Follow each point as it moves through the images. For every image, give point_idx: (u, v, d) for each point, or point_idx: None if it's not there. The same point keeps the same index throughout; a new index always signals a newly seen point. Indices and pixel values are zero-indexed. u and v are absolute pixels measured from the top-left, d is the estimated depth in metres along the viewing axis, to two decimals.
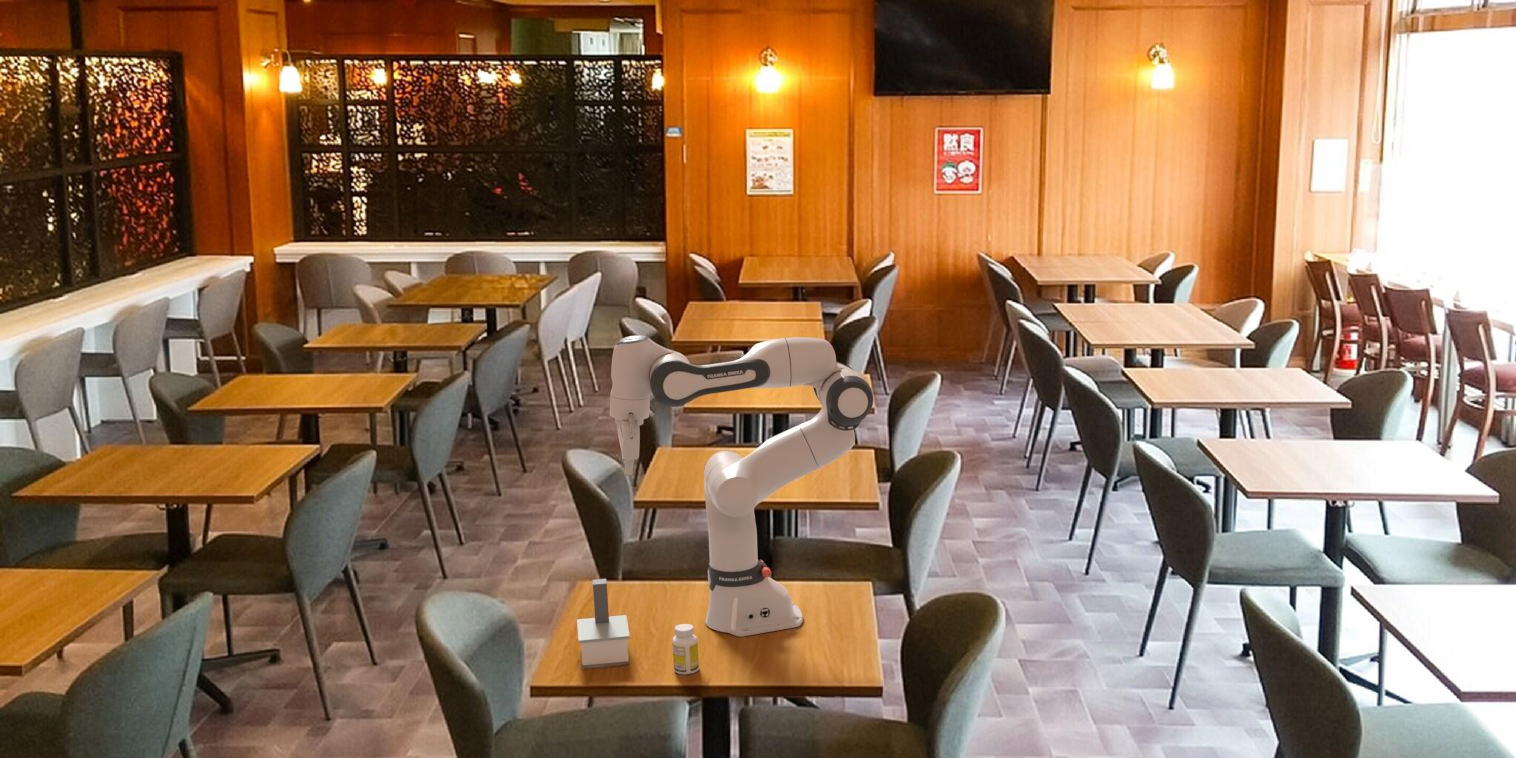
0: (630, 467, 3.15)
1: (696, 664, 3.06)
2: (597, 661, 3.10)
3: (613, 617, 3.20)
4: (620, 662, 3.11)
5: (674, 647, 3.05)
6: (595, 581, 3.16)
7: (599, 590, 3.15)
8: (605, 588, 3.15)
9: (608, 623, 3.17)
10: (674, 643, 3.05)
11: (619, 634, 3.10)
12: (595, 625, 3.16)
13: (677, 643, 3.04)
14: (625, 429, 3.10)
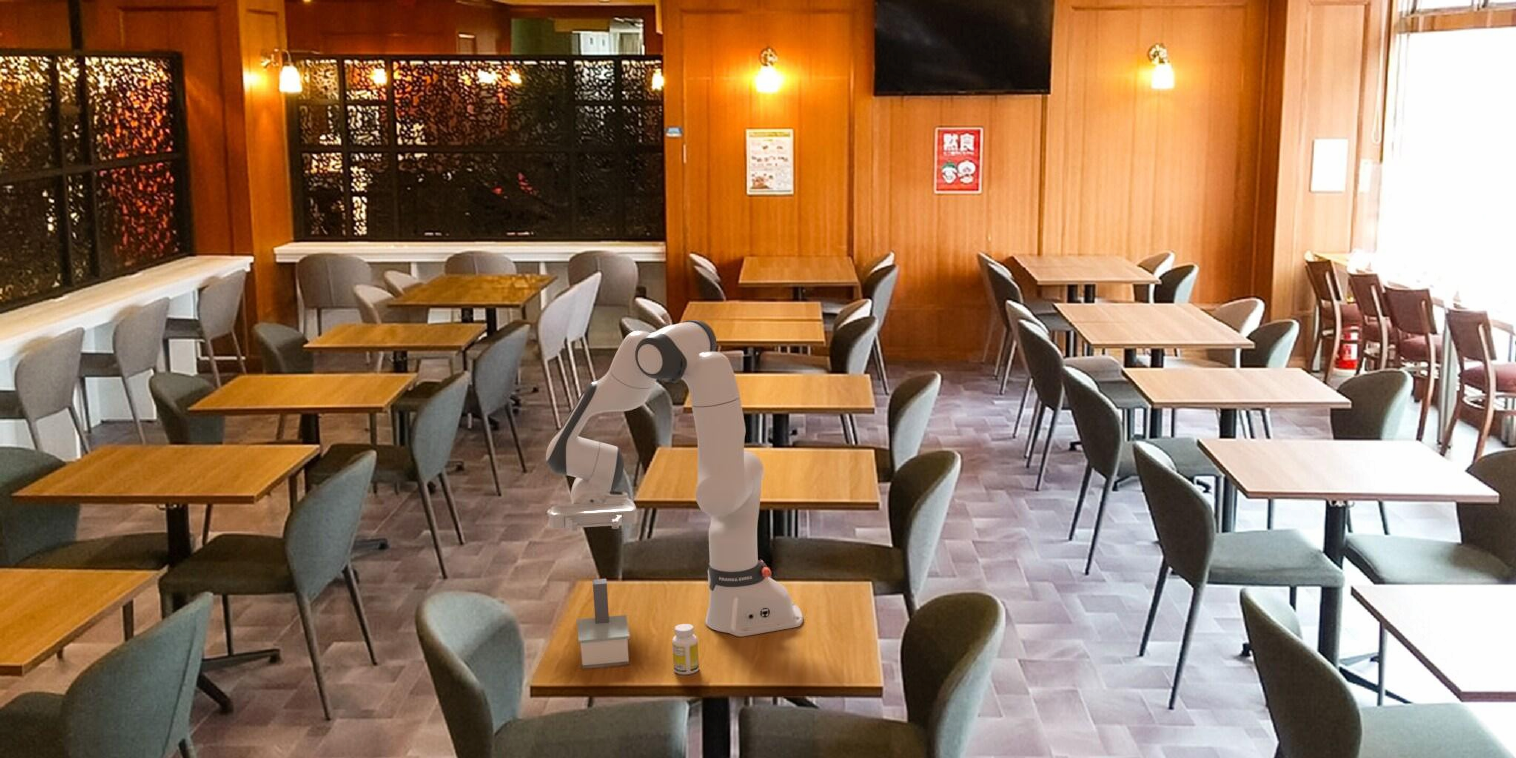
0: (569, 524, 3.26)
1: (696, 664, 3.06)
2: (597, 661, 3.10)
3: (613, 617, 3.20)
4: (620, 662, 3.11)
5: (674, 647, 3.05)
6: (595, 581, 3.16)
7: (599, 590, 3.15)
8: (605, 588, 3.15)
9: (608, 623, 3.17)
10: (674, 643, 3.05)
11: (619, 634, 3.10)
12: (595, 625, 3.16)
13: (677, 643, 3.04)
14: None
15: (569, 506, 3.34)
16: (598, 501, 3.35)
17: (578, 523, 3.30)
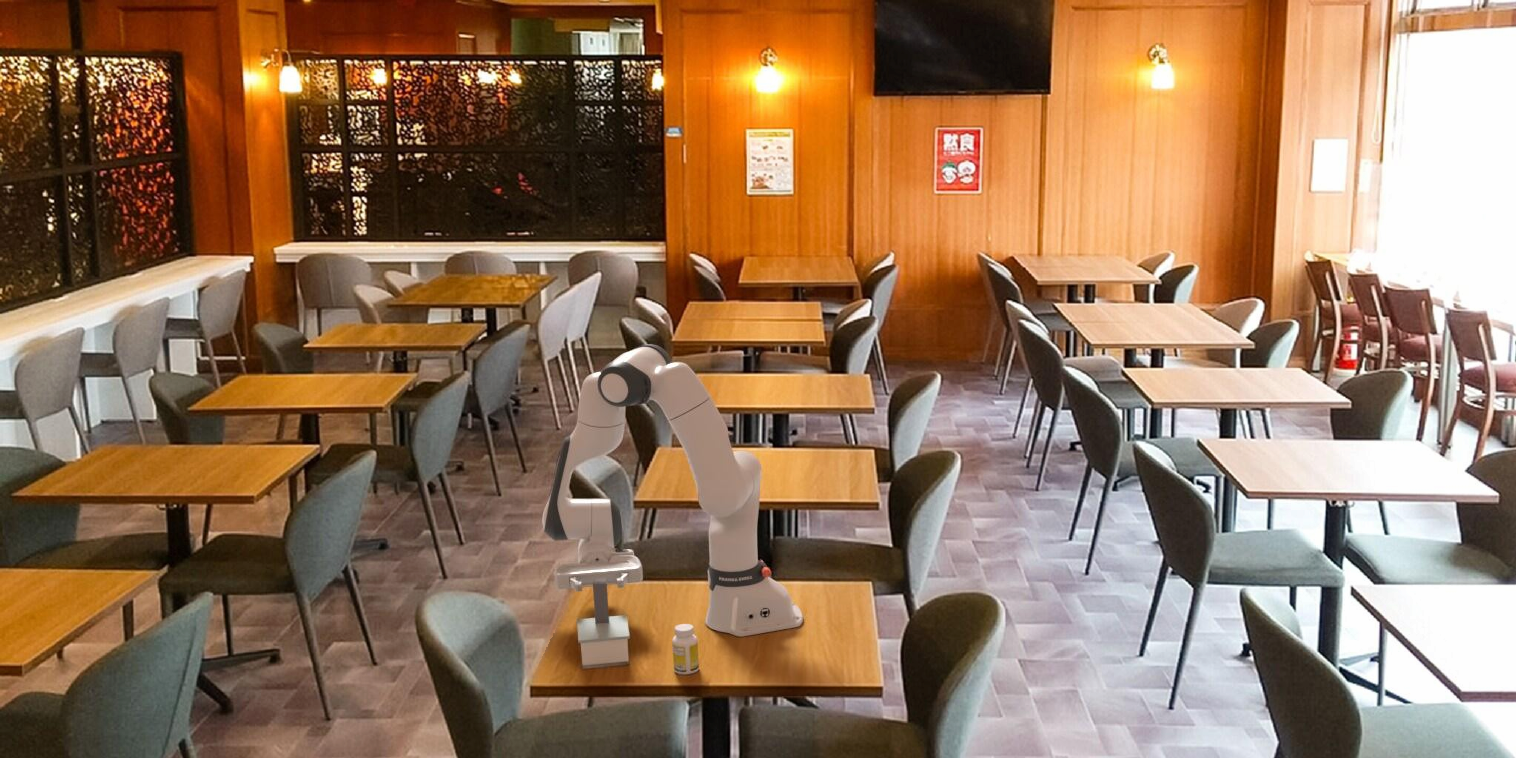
0: (574, 584, 3.24)
1: (696, 664, 3.06)
2: (597, 661, 3.10)
3: (613, 617, 3.20)
4: (620, 662, 3.11)
5: (674, 647, 3.05)
6: (595, 581, 3.16)
7: (599, 590, 3.15)
8: (605, 588, 3.15)
9: (608, 623, 3.17)
10: (674, 643, 3.05)
11: (619, 634, 3.10)
12: (595, 625, 3.16)
13: (677, 643, 3.04)
14: None
15: (574, 565, 3.32)
16: (603, 559, 3.33)
17: (583, 583, 3.28)
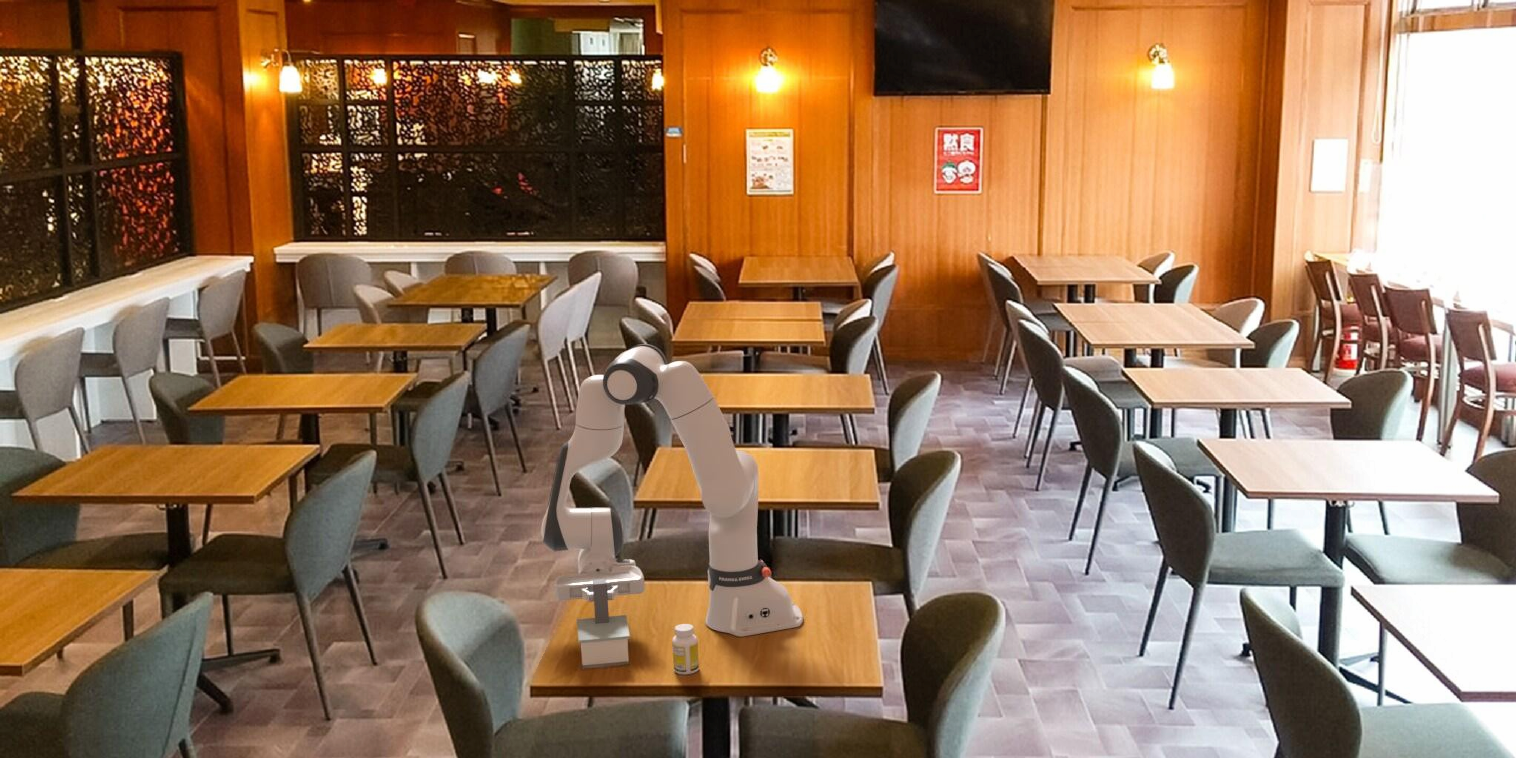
0: (586, 594, 3.17)
1: (696, 664, 3.06)
2: (597, 661, 3.10)
3: (613, 617, 3.20)
4: (620, 662, 3.11)
5: (674, 647, 3.05)
6: (595, 581, 3.16)
7: (599, 590, 3.15)
8: (605, 588, 3.15)
9: (608, 623, 3.17)
10: (674, 643, 3.05)
11: (619, 634, 3.10)
12: (595, 625, 3.16)
13: (677, 643, 3.04)
14: None
15: (575, 576, 3.25)
16: (604, 570, 3.26)
17: None
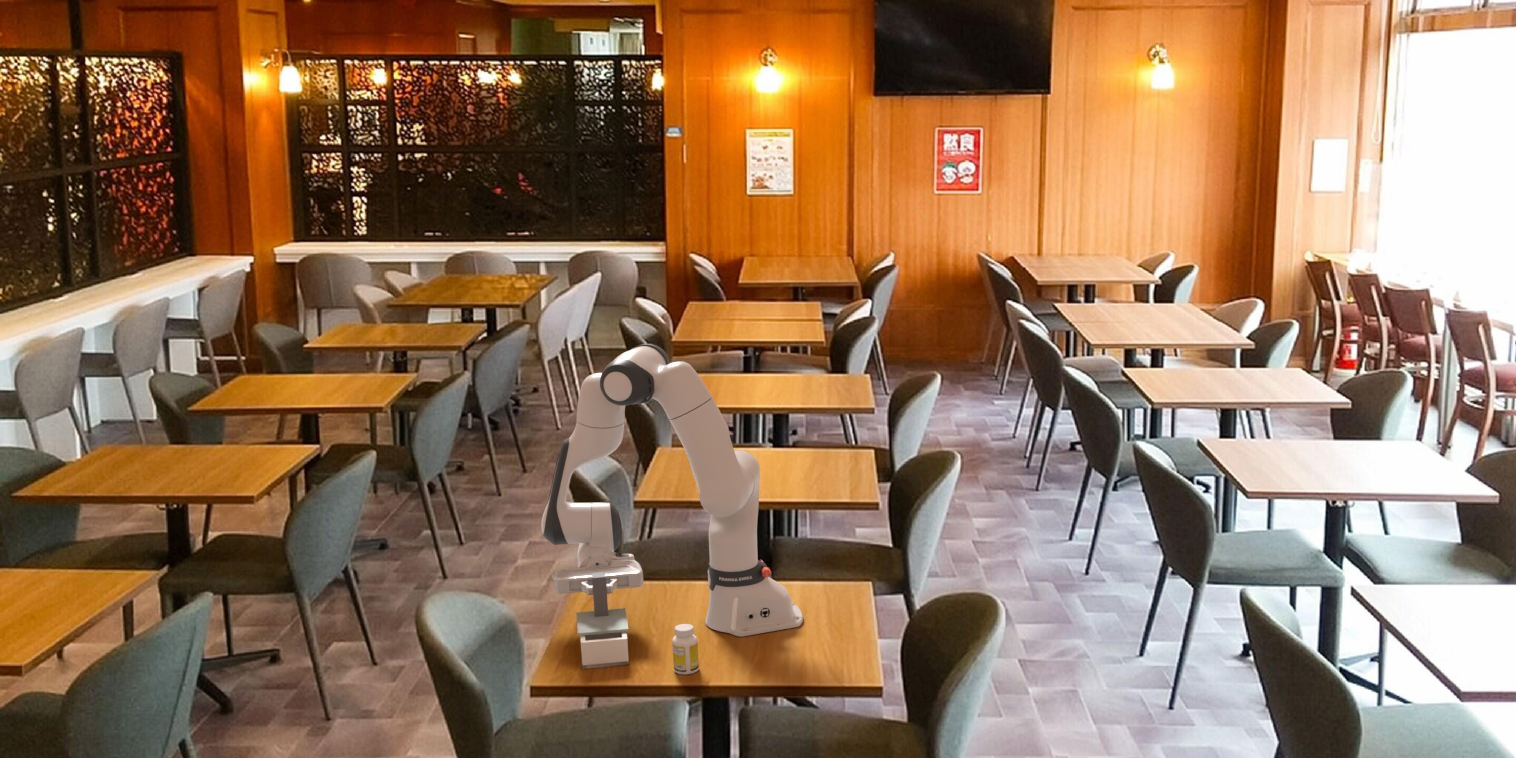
0: (585, 588, 3.21)
1: (696, 664, 3.06)
2: (597, 661, 3.10)
3: (612, 610, 3.24)
4: (620, 662, 3.11)
5: (674, 647, 3.05)
6: (594, 575, 3.20)
7: (599, 584, 3.19)
8: (604, 581, 3.19)
9: (607, 616, 3.20)
10: (674, 643, 3.05)
11: (618, 627, 3.14)
12: (594, 618, 3.20)
13: (677, 643, 3.04)
14: None
15: (574, 570, 3.29)
16: (604, 564, 3.30)
17: None
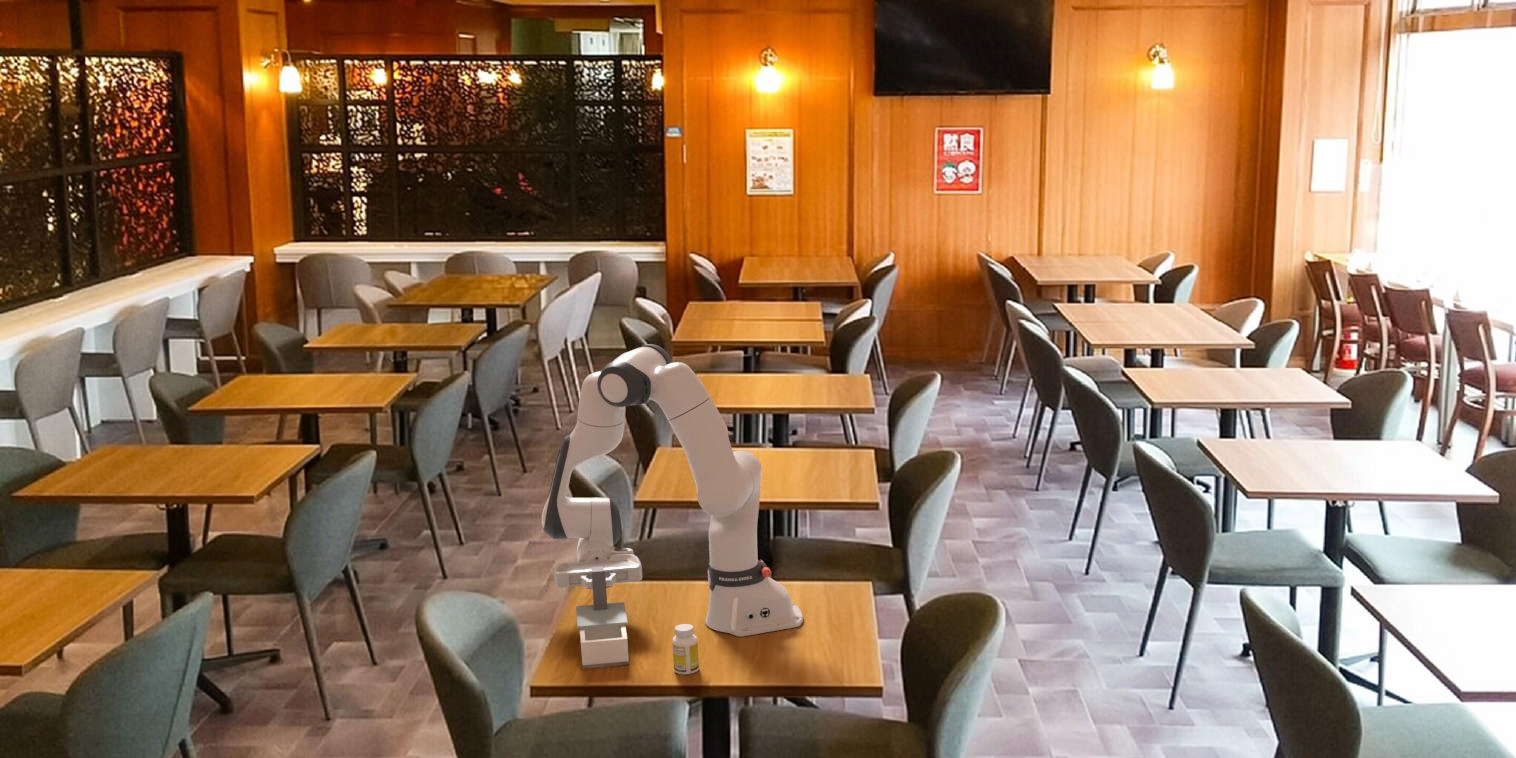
0: (585, 581, 3.25)
1: (696, 664, 3.06)
2: (597, 661, 3.10)
3: (611, 604, 3.27)
4: (620, 662, 3.11)
5: (674, 647, 3.05)
6: (594, 569, 3.24)
7: (598, 577, 3.23)
8: (603, 575, 3.23)
9: (606, 610, 3.24)
10: (674, 643, 3.05)
11: (617, 620, 3.18)
12: (594, 612, 3.23)
13: (677, 643, 3.04)
14: None
15: (574, 564, 3.33)
16: (603, 558, 3.34)
17: None
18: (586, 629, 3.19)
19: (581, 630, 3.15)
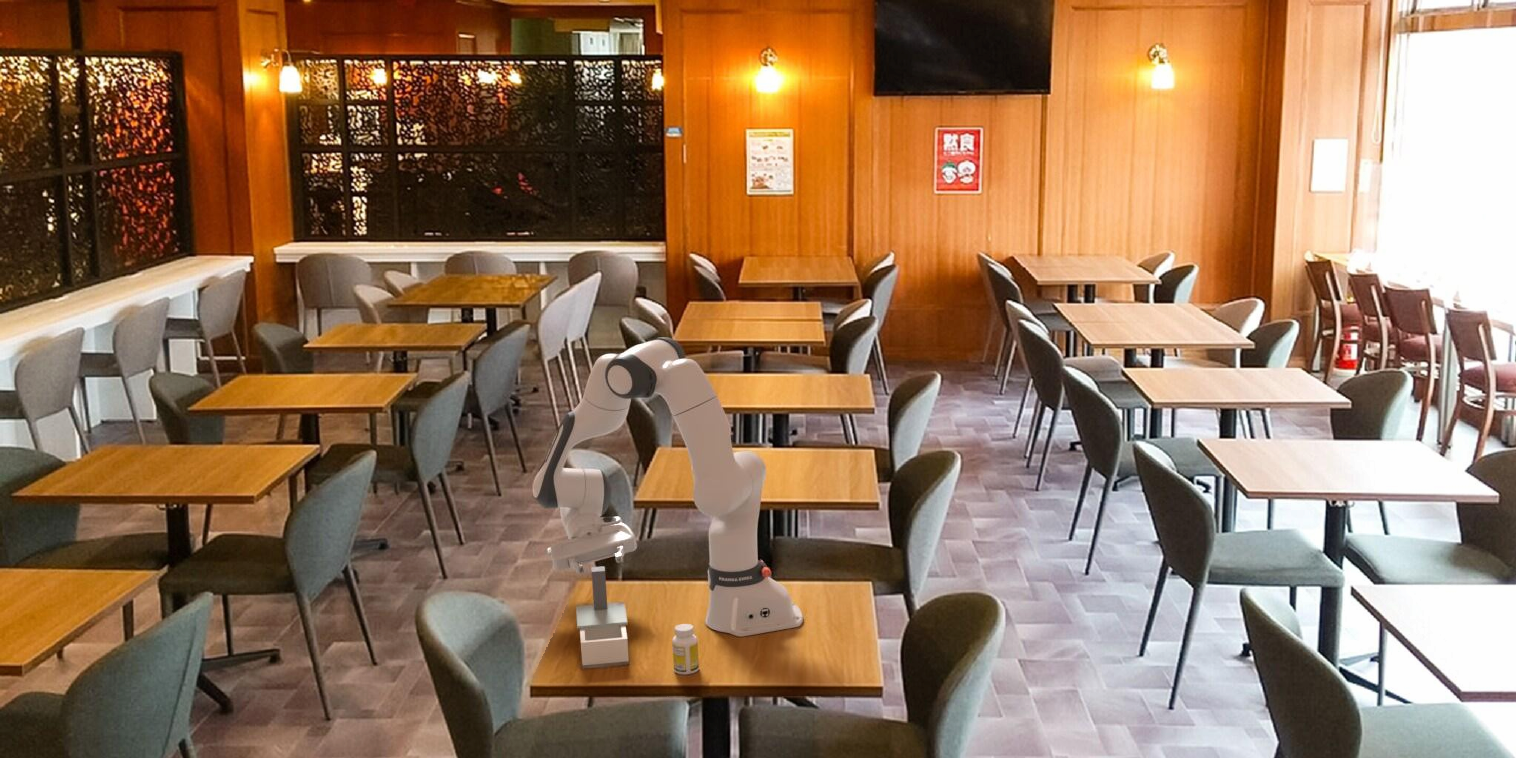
0: (575, 566, 3.33)
1: (696, 664, 3.06)
2: (597, 661, 3.10)
3: (611, 604, 3.28)
4: (620, 662, 3.11)
5: (674, 647, 3.05)
6: (594, 569, 3.24)
7: (598, 577, 3.23)
8: (603, 575, 3.23)
9: (606, 610, 3.24)
10: (674, 643, 3.05)
11: (617, 620, 3.18)
12: (594, 611, 3.23)
13: (677, 643, 3.04)
14: None
15: (568, 543, 3.40)
16: (595, 532, 3.41)
17: (581, 560, 3.37)
18: (586, 629, 3.19)
19: (581, 630, 3.15)
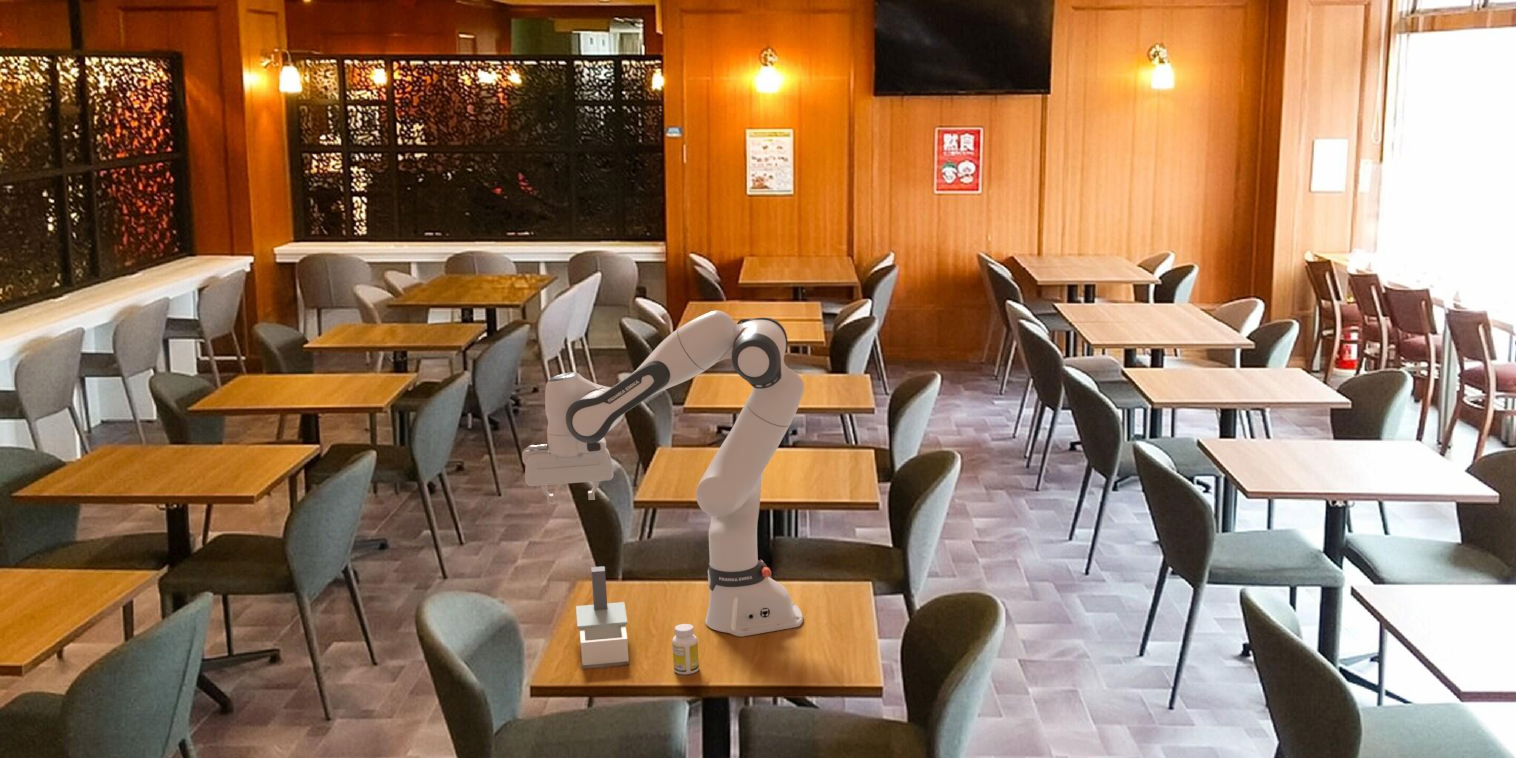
0: (546, 495, 3.29)
1: (696, 664, 3.06)
2: (597, 661, 3.10)
3: (611, 604, 3.28)
4: (620, 662, 3.11)
5: (674, 647, 3.05)
6: (594, 569, 3.24)
7: (598, 577, 3.23)
8: (603, 575, 3.23)
9: (606, 610, 3.24)
10: (674, 643, 3.05)
11: (617, 620, 3.18)
12: (594, 611, 3.23)
13: (677, 643, 3.04)
14: None
15: (545, 461, 3.26)
16: None
17: None
18: (586, 629, 3.19)
19: (581, 630, 3.15)
